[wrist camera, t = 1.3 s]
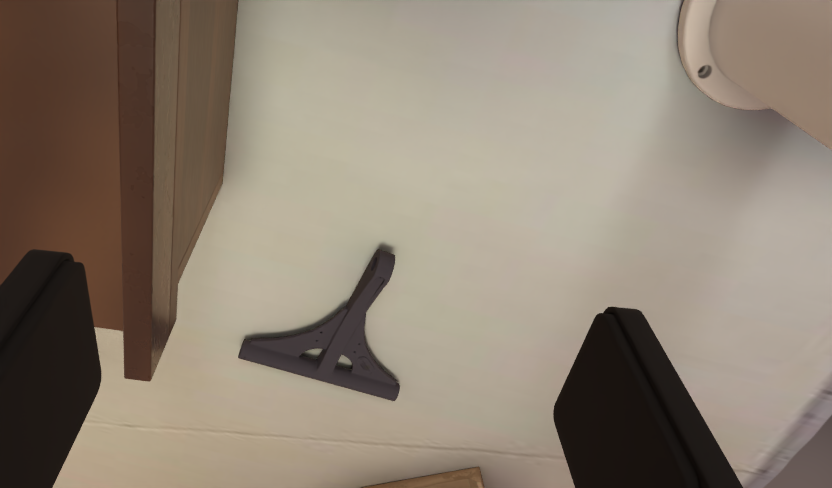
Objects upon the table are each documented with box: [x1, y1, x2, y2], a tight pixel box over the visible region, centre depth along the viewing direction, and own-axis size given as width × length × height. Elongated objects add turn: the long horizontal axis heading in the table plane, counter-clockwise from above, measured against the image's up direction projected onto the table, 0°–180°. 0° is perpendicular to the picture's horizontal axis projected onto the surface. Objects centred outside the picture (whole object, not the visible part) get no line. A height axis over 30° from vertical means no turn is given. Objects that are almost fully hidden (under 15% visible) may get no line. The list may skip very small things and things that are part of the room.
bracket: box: [238, 250, 400, 401], centre depth 49 cm, size 14×15×3 cm
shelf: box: [0, 0, 238, 381], centre depth 28 cm, size 13×22×18 cm, turn 166°
